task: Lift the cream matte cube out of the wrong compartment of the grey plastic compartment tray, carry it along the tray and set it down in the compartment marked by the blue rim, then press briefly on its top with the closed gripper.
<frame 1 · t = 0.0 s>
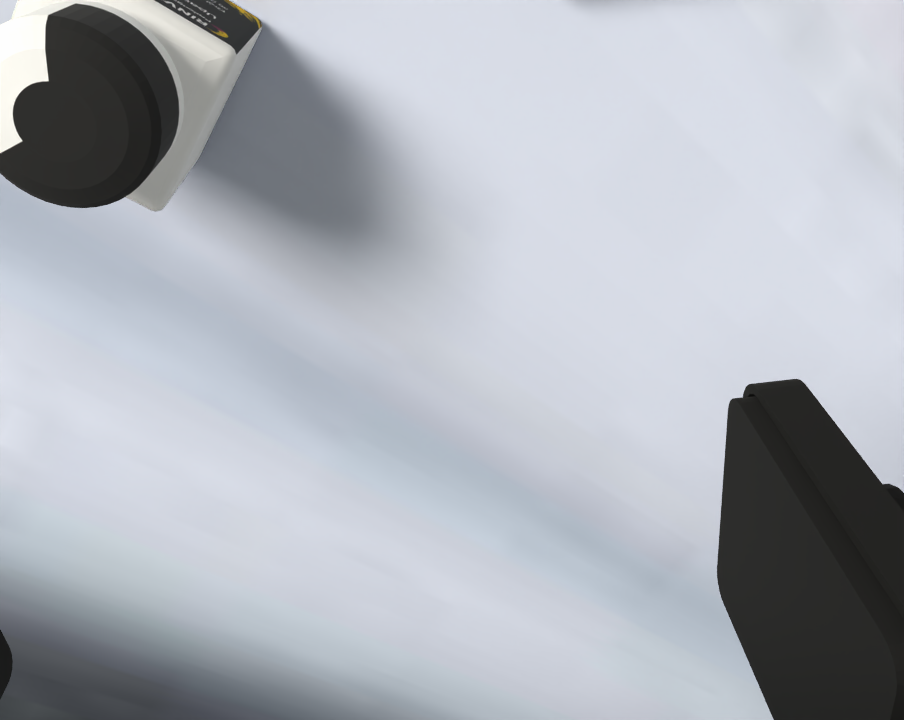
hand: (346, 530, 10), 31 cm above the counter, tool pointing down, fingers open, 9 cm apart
medicine bottle: (154, 49, 37), on the counter
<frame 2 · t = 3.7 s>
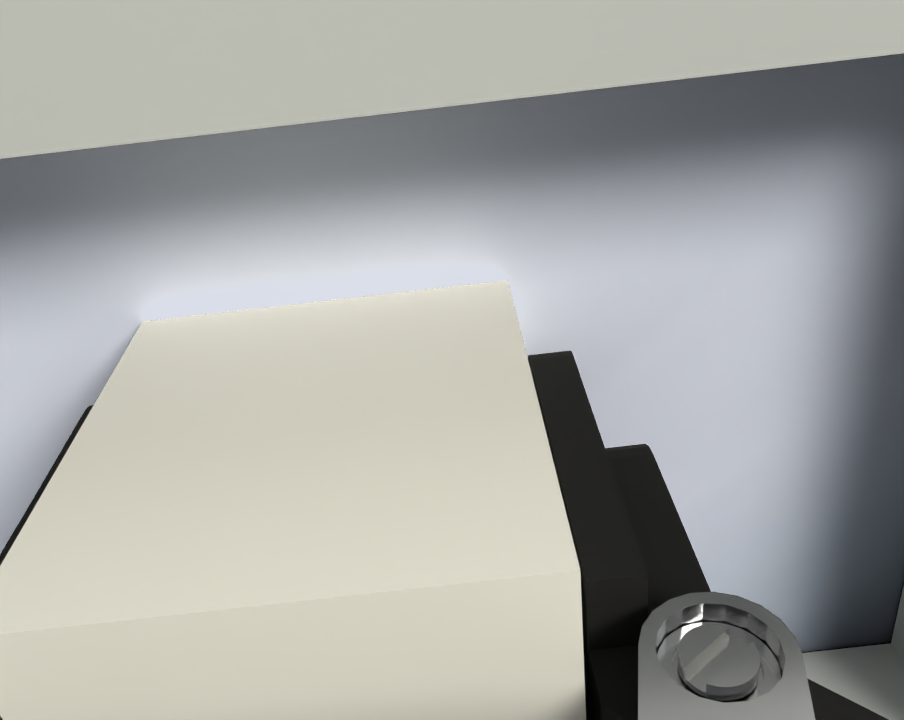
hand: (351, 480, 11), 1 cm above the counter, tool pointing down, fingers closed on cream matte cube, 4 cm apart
cream matte cube: (354, 449, 12), resting in compartment tray, touching gripper
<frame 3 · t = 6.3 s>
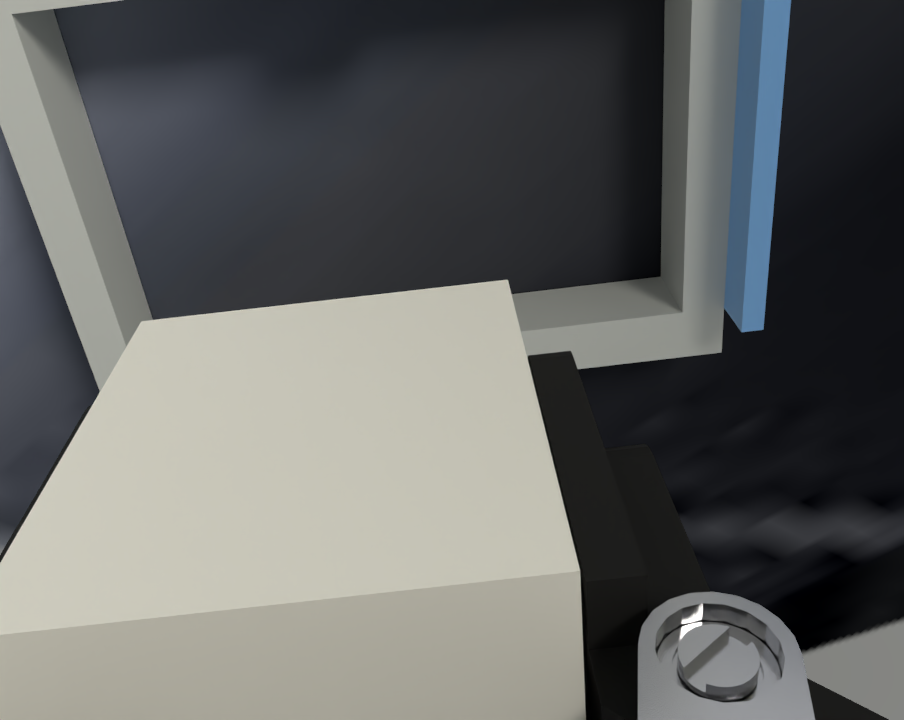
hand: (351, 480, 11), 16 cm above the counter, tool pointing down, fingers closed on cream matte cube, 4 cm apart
cream matte cube: (353, 450, 12), point 15 cm above the counter, touching gripper
when the fingers open (2 cm above the counter, at t = 9.2 s): cream matte cube drops 1 cm, resting in compartment tray.
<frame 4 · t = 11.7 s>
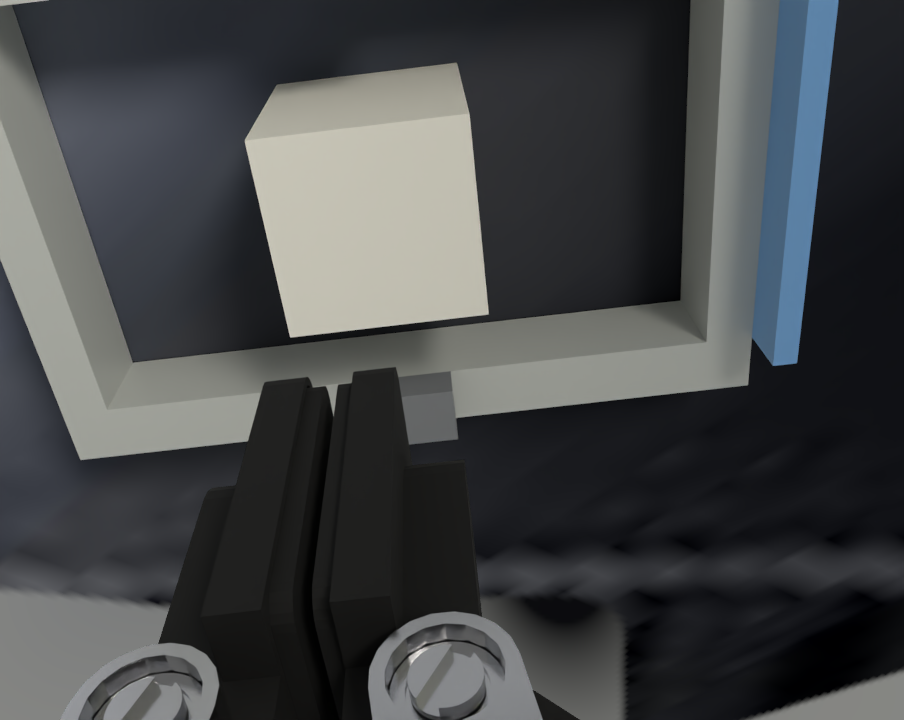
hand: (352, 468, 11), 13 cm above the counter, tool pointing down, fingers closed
cream matte cube: (380, 161, 23), resting in compartment tray
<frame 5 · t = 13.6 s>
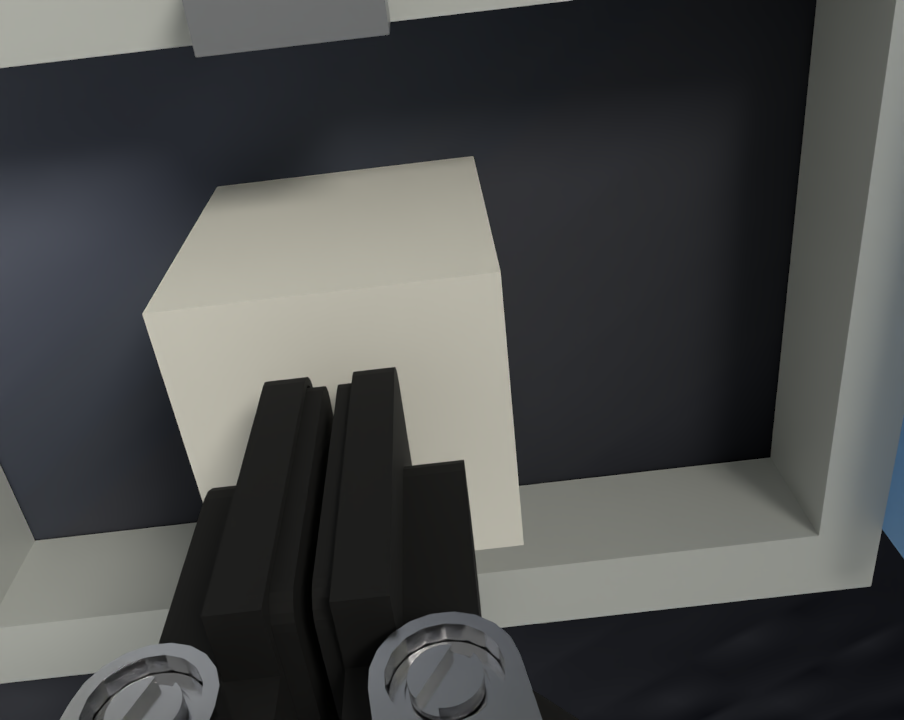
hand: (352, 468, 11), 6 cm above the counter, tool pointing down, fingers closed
cream matte cube: (365, 286, 16), resting in compartment tray
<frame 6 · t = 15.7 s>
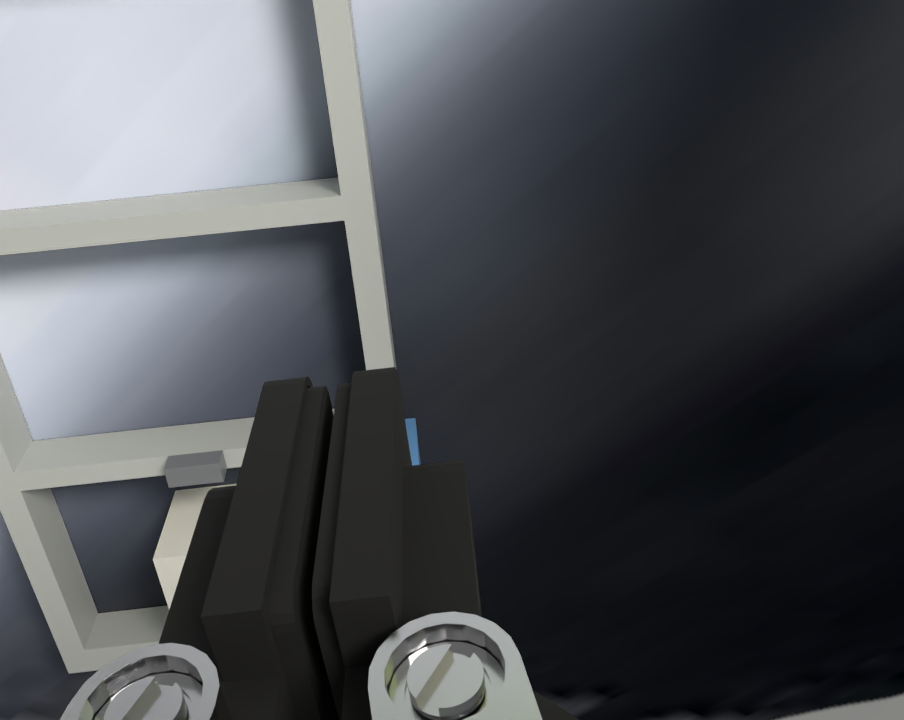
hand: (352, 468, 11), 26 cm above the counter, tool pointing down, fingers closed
cream matte cube: (231, 520, 43), resting in compartment tray
compartment tray: (180, 327, 38), on the counter
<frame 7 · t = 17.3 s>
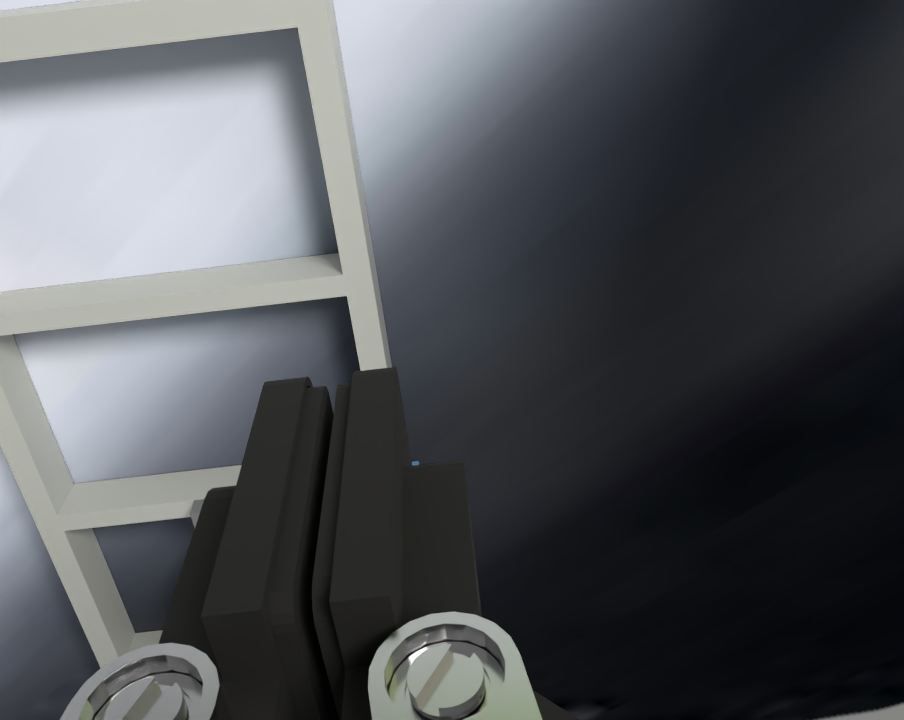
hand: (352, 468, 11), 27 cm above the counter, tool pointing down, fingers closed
compartment tray: (203, 384, 42), on the counter
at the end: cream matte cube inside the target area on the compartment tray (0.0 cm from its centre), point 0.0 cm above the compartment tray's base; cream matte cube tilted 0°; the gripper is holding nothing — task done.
